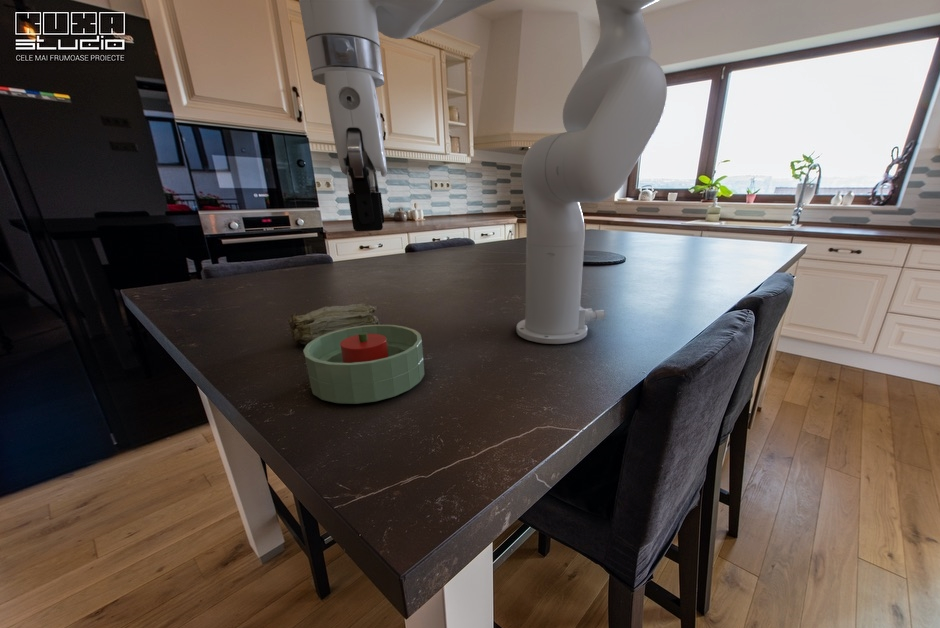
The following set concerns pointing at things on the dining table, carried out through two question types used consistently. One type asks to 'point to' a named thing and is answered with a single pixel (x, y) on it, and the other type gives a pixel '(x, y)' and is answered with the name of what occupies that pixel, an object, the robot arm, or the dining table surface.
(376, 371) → the sage green round tray
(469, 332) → the dining table surface
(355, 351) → the red squat cylinder
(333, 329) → the olive rough flat block
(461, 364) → the dining table surface
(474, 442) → the dining table surface
